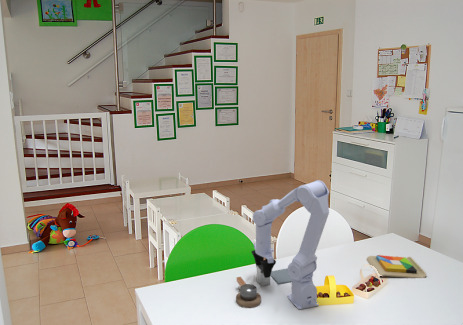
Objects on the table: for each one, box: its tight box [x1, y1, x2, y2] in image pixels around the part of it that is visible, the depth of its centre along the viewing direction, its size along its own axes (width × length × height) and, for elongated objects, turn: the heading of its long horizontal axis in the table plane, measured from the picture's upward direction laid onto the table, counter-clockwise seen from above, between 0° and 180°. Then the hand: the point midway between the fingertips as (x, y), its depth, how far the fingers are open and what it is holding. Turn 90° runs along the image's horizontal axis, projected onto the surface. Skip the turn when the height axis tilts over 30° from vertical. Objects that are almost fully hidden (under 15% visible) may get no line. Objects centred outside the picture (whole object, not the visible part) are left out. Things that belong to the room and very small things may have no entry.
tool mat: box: [270, 267, 292, 285], centre depth 166 cm, size 10×10×1 cm
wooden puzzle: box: [366, 254, 427, 279], centre depth 171 cm, size 18×19×4 cm
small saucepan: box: [236, 276, 258, 301], centre depth 151 cm, size 14×6×3 cm, turn 19°
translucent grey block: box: [256, 264, 271, 287], centre depth 160 cm, size 4×4×7 cm
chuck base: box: [235, 292, 262, 309], centre depth 148 cm, size 9×9×2 cm
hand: (263, 272), depth 160 cm, fingers open, 7 cm apart
